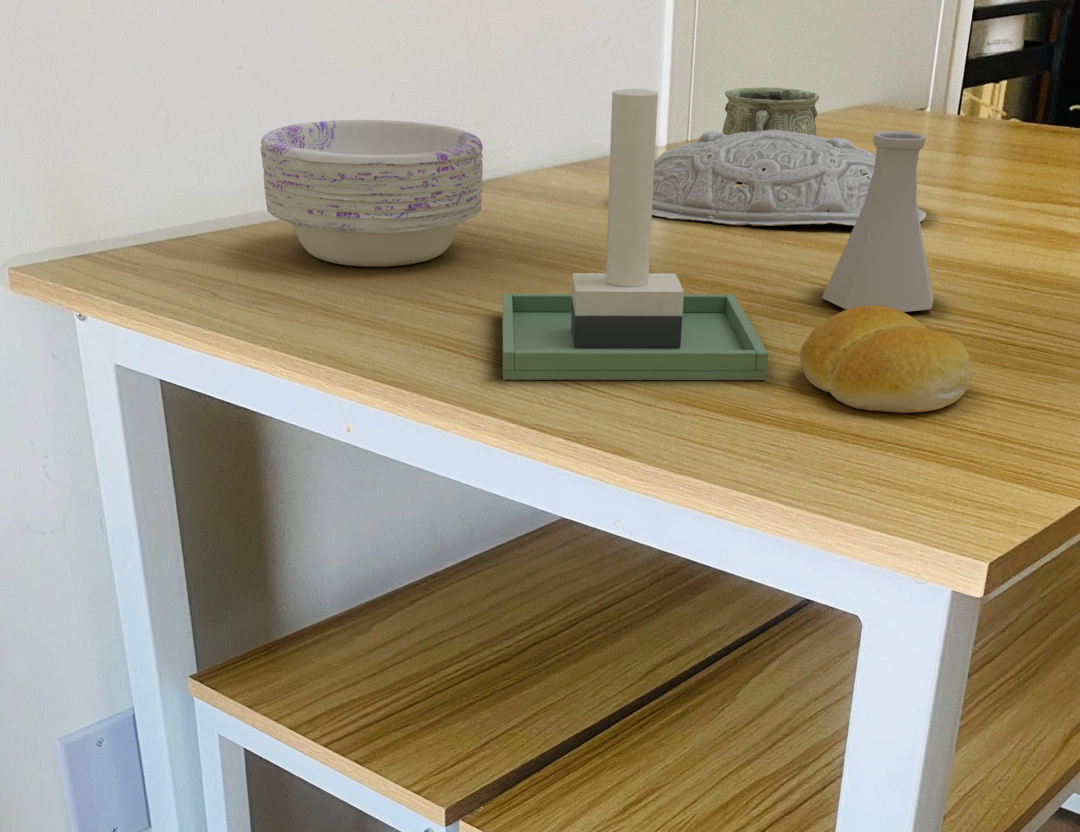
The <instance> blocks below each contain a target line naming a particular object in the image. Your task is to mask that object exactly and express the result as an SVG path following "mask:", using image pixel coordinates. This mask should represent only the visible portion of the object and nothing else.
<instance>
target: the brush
mask: <svg viewBox="0 0 1080 832" xmlns="http://www.w3.org/2000/svg"><path fill="white" fill-rule="evenodd" d="M658 96H659V92H658V91H656V90H653V89H646V88H645V89H643V88H623V89H615V90H613V91H612V93H611V117H610V146H609V147H610V148H609V149H610V150H609V173H608V175H609V179H608V204H607V205H608V206H607V207H608V209H607V231H606V232H607V233H606V236H607V237H606V263H605V272H573V273H572V274H571V294H572V310H571V330H572V336H573V342H574V347H575V348H680V346H681V331H682V315H683V300H684V294H685V291H684V288H683V287H682V284H681V282H680V279H679V278H678V275H677V273H665V272H664V273H656V272H655V273H650V259H651V238H652V221H653V219H652V218H653V215H652V201H653V181H654V161H655V158H656V139H657V120H658V119H657V118H658V102H659V101H658V99H659V97H658Z"/></svg>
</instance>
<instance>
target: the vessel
mask: <svg viewBox="0 0 1080 832" xmlns="http://www.w3.org/2000/svg"><path fill="white" fill-rule="evenodd" d="M724 95H725V97H726V98H727V100H728V101H727V103H726V104H725V107H724V111H725V112H726V116H725V119H724V123H723V127H722V132H723V134H725V135H731V134H735V133H739V132H757V131H767V130H782V131H787V132H788V131H790V132H791V133H792V132H796V133H802V134H803V133H804V134H808V135H815V136H817V126H816V118H817V117H818V111H817V110H818V109H817V108H816V103H817V102H818V101H819V99H820V95H819V94H818V93H817V92H813V91H808V90H803V89H795V88H785V87H771V86H770V87H769V86H767V87H766V86H765V87H764V86H763V87H740V88H733V89H729V90H726V91H725V92H724Z"/></svg>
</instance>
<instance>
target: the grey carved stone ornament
mask: <svg viewBox="0 0 1080 832" xmlns="http://www.w3.org/2000/svg"><path fill="white" fill-rule="evenodd" d="M875 159H876V154H874V153H872V152H870V151H868V150H866V149H863V148H860V147H858V146H855V145H854V144H853V143H852V142H851V141H850V140H848V139H846V138H843V137H840V136H839V137H838V136H837V137H830V138H826V137H824V136H818V135H816V136H815V135H808V134H804V133H803V134H802V133H796V132H792V133H791V132H790V131H788V132H787V131H782V130H767V131H757V132H739V133H735V134H731V135H725V134H723V131H720V130H711V131H706V132H704V133H702V134H701V136H699V138H698V140H697V141H691V142H688V143H684V144H682V145H678V146H677V147H674V148H672V149H668V150H665V151H664V152H662V153H661V154H660V155H659V156H658V157H657V158H656V159H655V161H654V181H653V201H652V216H655V217H659V218H664V219H665V218H666V219H670V220H685V221H686V220H687V221H698V222H712V223H714V224H724V225H730V226H747V225H751V226H752V227H754V226H755V227H759V226H760V227H761V226H762V227H763V226H767V227H769V226H770V227H771V226H773V227H776V226H792V225H793V226H794V225H825V224H835V225H836V224H837V225H843V226H853V227H854V226H855V224H856V221H857V219H858V217H859V214H860V212H861V210H862V207H863V205H864V203H865V200H866V196H867V193H868V189H869V186H870V182H871V179H872V175H873V172H874V166H875ZM735 185H739V186H735ZM918 212H919V218H920V223H921V222H923V221H925V220H926V217H927V216H926V215H927V212H925V211H924V210H922V209H920V208H918Z"/></svg>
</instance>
